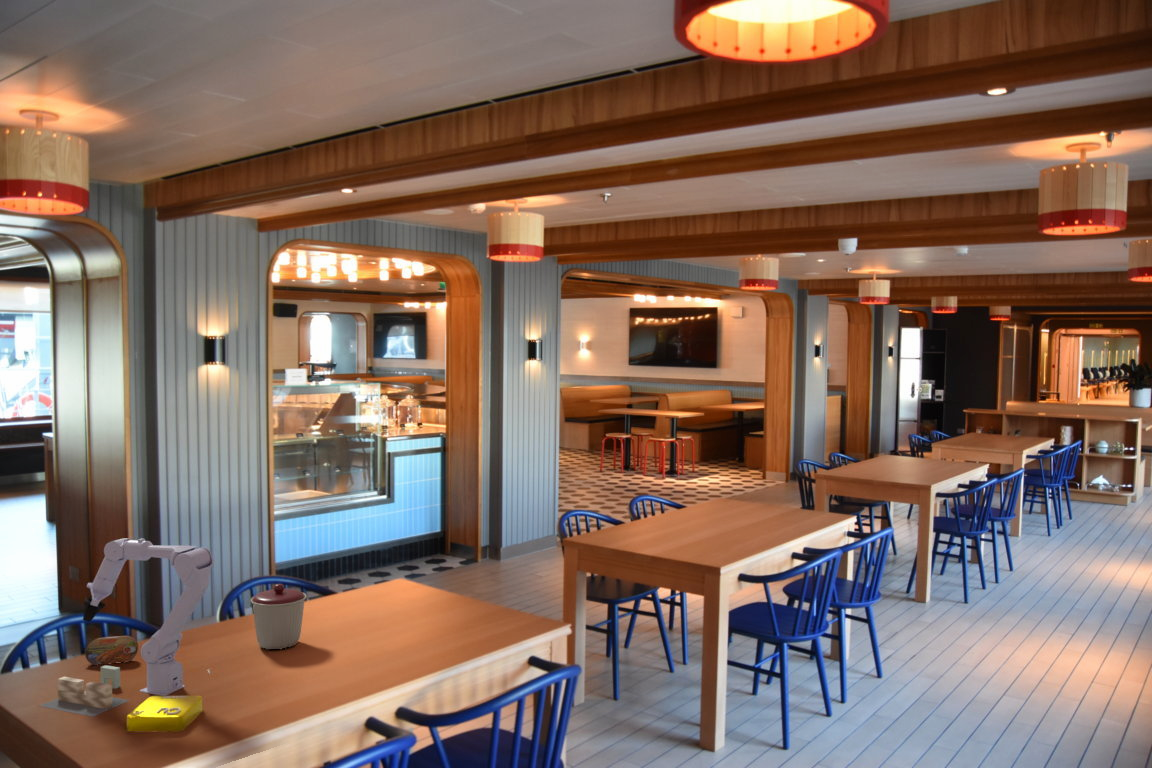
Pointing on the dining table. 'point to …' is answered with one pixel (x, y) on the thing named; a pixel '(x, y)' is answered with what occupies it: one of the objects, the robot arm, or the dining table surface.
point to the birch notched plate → (85, 692)
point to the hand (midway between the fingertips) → (89, 613)
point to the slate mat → (81, 707)
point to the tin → (111, 650)
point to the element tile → (164, 713)
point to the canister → (278, 616)
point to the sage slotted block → (110, 675)
